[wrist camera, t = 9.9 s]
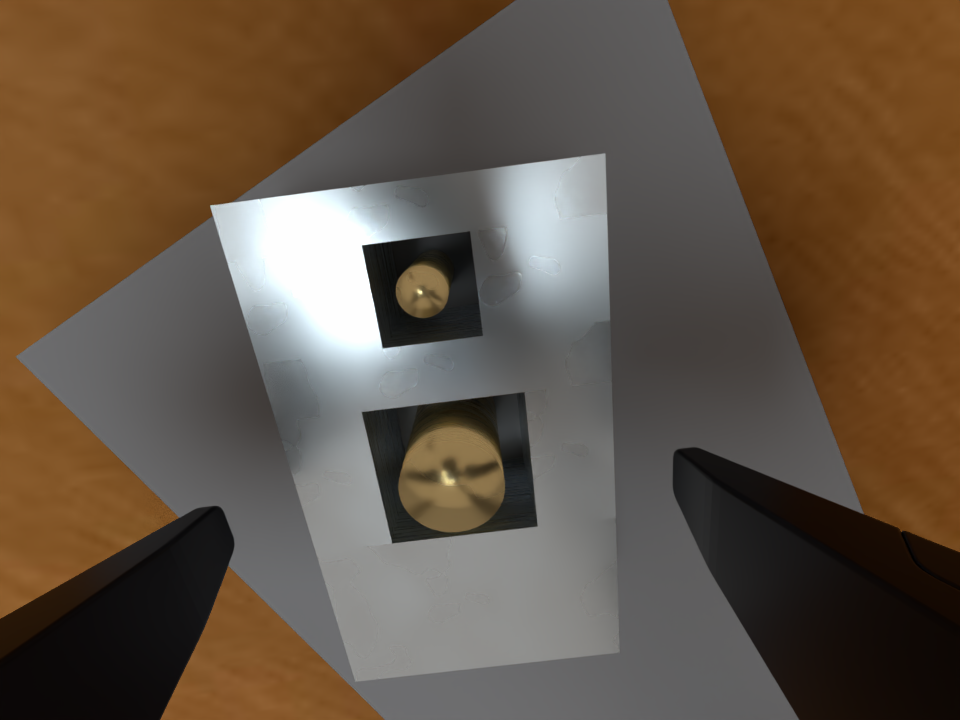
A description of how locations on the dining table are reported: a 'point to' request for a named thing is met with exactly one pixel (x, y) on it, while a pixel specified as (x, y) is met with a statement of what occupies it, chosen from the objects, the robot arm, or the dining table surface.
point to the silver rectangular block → (441, 378)
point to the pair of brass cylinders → (448, 429)
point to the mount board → (635, 394)
